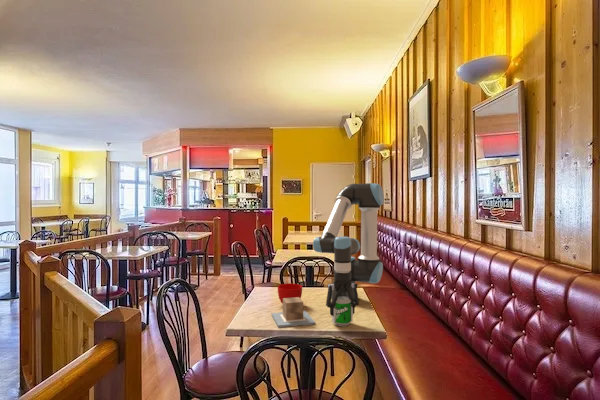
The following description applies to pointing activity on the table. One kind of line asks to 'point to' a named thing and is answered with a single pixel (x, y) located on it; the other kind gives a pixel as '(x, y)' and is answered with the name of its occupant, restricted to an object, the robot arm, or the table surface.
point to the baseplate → (282, 321)
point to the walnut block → (292, 308)
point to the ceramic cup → (289, 291)
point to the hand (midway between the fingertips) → (342, 321)
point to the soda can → (343, 311)
